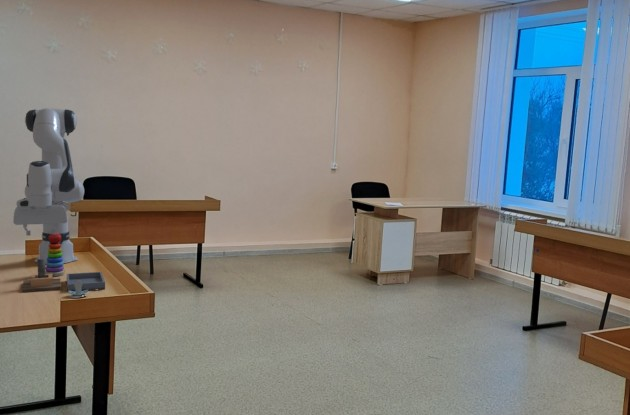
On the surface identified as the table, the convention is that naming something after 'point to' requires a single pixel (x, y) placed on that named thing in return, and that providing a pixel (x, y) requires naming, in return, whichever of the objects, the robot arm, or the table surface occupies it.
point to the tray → (86, 281)
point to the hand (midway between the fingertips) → (41, 234)
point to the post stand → (41, 274)
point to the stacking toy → (54, 256)
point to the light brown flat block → (41, 280)
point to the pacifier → (77, 290)
